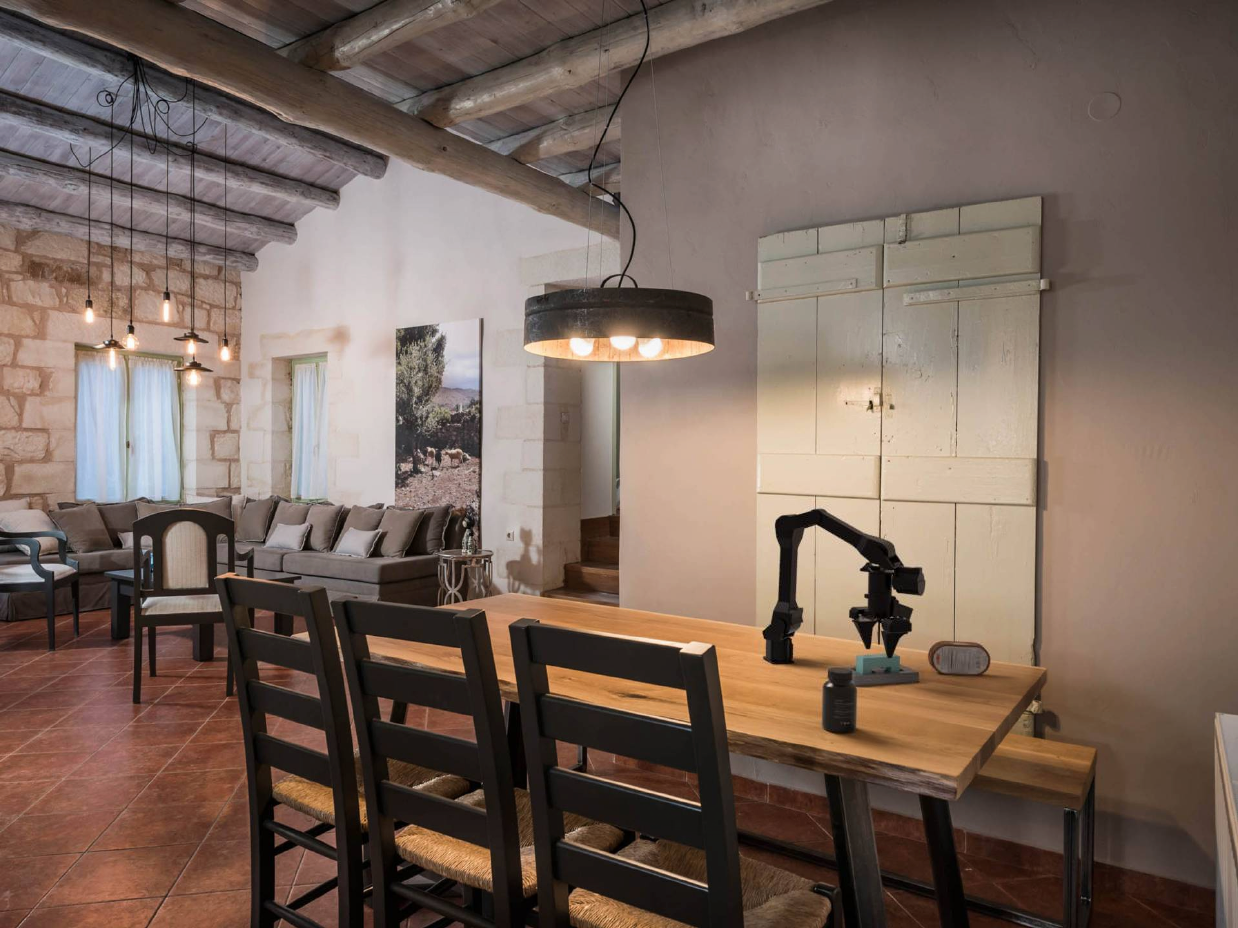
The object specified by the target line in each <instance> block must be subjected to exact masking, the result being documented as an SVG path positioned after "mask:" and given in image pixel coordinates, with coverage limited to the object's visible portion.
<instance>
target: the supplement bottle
mask: <svg viewBox="0 0 1238 928" xmlns="http://www.w3.org/2000/svg"><path fill="white" fill-rule="evenodd" d="M842 667H843V666H832V667H829V668H828V669H827V676H826V677H827V679H828V680H826V681H824V683H823V685H822V690H821V726H822V728H823V729H824V730H826V731H828V732H830V733H833V734H841V735H845V734H852V733H854V732H855V731H856V730H857V720H858V719H857V716H858V715H857V714H858V711H857V710H858V688H857V686H855V685H854V684H853V683H851V681H852V680H853V677H852V671H851V670H850V669H847V668H842Z"/></svg>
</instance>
